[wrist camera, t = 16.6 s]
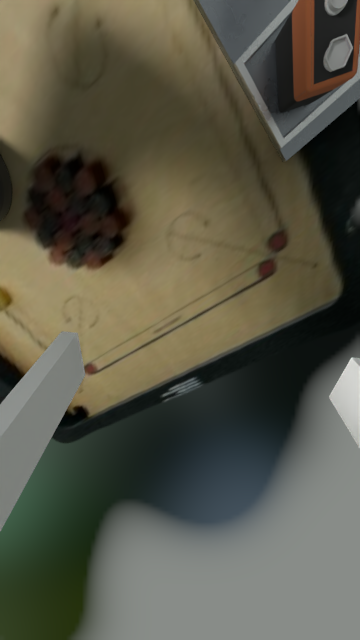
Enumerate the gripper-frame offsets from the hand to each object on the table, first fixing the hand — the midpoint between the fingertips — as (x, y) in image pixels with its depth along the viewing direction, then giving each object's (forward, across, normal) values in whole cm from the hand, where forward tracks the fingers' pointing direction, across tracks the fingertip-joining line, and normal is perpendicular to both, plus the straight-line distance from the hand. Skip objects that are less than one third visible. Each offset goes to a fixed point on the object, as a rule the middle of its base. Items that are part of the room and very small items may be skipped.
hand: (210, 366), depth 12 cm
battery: (+30, +9, +19) cm, 37 cm away
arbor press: (+32, +7, +21) cm, 39 cm away
